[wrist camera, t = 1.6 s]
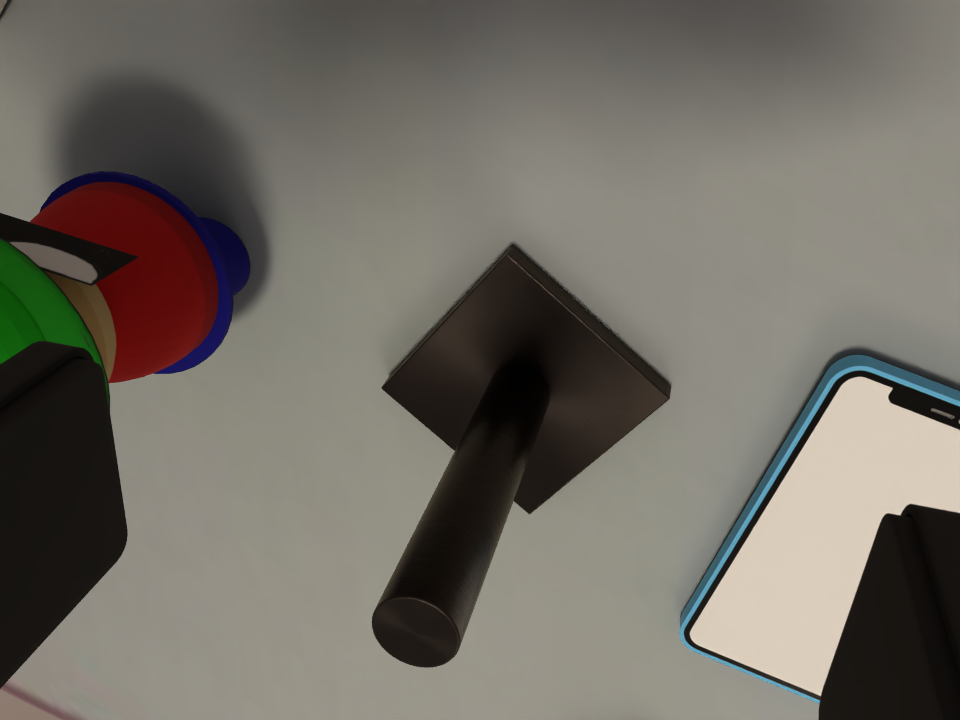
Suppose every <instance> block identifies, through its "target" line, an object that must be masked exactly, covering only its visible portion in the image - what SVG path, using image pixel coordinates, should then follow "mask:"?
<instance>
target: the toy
mask: <svg viewBox="0 0 960 720" xmlns="http://www.w3.org/2000/svg"><path fill="white" fill-rule="evenodd" d="M249 274H250V261H249V256H248V253H247V250H246V248H245V246H244V245H243V243H242V241H241V240H240V239H239V237H238V236H237V235H236V234H235V233H234V232H233V231H232V230H231V229H230V228H228V227H227V226H225V225H224V224H222V223H220V222H218V221H215V220H213V219H210V218H201V217H197V216H196V215H195V213H194V212H193V211H192V210H190V209H189V208H188V207H187V206H186V205H185V204H184V203H183V202H182V201H181V200H179V199H178V198H176V197H175V196H174V195H172V194H171V193H169V192H168V191H167V190H165V189H163V188H161V187H160V186H158V185H156V184H154V183H152V182H150V181H148V180H145V179H142V178H139V177H137V176H134V175H130V174H125V173H120V172H104V171H100V172H94V173H88V174H84V175H82V176H79V177H76V178H73V179H72V180H70V181H68V182H66V183H64V184H62V185H61V186H59V187H58V188H57V189H56V190H55V191H54V192H52V193H51V195H50V196H49V197H48V199H47V200H46V201H45V203H44V204H43V206H42V207H41V210H40V212H39V214H38V215H36V216H35V217H34V218H33V219H32V220H31V221H30V222H27V221H24V220H21V219H18V218H14V217H11V216H8V215H5V214H2V213H0V364H1V363H3V362H5V361H6V360H8V359H9V358H11V357H12V356H14V355H15V354H17V353H18V352H20V351H21V350H23V349H25V348H26V347H28V346H29V345H31V344H33V343H35V342H37V341H49V342H54V343H59V344H65V345H70V346H75V347H80V348H84V349H86V350H87V351H89V352H90V354H91V355H92V357H93V359H94V362H96V363H98V364H99V365H100V366H101V367H102V369H103V373H104V377H105V384H106V391H107V397H108V404H109V411H110V393H109V385H108V383H115V382H123V381H127V380H132V379H136V378H140V377H144V376H147V375H150V374H152V373H153V374H170V373H176V372H182V371H185V370H187V369H190V368H193V367H195V366H196V365H198V364H200V363H201V362H203V361H204V360H206V359H207V358H208V357H209V356H210V355H212V354H213V353H214V351H215V350H216V349H217V348H218V347H219V346H220V345H221V343H222V341H223V340H224V338H225V336H226V334H227V332H228V329H229V326H230V323H231V320H232V312H233V296H234V295H235V294H236V293H237V292H239V291H240V290H241V289H242V288H243V287H244V286H245V284H246V282H247V281H248V278H249Z"/></svg>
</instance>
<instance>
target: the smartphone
mask: <svg viewBox="0 0 960 720" xmlns="http://www.w3.org/2000/svg"><path fill="white" fill-rule="evenodd" d="M909 504H915V505H920V506H926V507H931V508H936V509H942V510H947V511H952V512H958V513H960V391H958V390H955V389H953V388H950V387H947V386H945V385H942V384H940V383H937V382H934V381H932V380H929V379H927V378H924V377H921V376H919V375H916V374H914V373H911V372H908V371H906V370H903V369H900V368H898V367H895V366H893V365H890V364H887V363H885V362H882V361H880V360H877V359H874V358H872V357H869V356H866V355H851V356H847V357H844V358H842V359H840V360H838V361H837V362H835V363H834V364H833V365H831V367H830V368H829V369H828V370H827V372H826V373H825V375H824V377H823V378H822V380H821V382H820V383H819V385H818V387H817V388H816V390H815V392H814V394H813V395H812V397H811V399H810V400H809V402H808V404H807V405H806V407H805V409H804V410H803V412H802V414H801V415H800V417H799V419H798V420H797V422H796V424H795V425H794V427H793V429H792V430H791V432H790V434H789V435H788V437H787V439H786V440H785V442H784V444H783V445H782V447H781V449H780V450H779V452H778V454H777V455H776V457H775V459H774V460H773V462H772V464H771V465H770V467H769V469H768V470H767V472H766V474H765V475H764V477H763V479H762V480H761V482H760V484H759V485H758V487H757V489H756V490H755V492H754V494H753V495H752V497H751V499H750V500H749V502H748V504H747V505H746V507H745V509H744V510H743V512H742V514H741V515H740V517H739V519H738V521H737V522H736V524H735V526H734V527H733V529H732V531H731V532H730V534H729V536H728V537H727V539H726V541H725V542H724V544H723V546H722V547H721V549H720V551H719V552H718V554H717V556H716V557H715V559H714V561H713V562H712V564H711V566H710V567H709V569H708V571H707V572H706V574H705V576H704V577H703V579H702V581H701V582H700V584H699V586H698V587H697V589H696V591H695V592H694V594H693V596H692V597H691V599H690V601H689V602H688V604H687V606H686V607H685V609H684V611H683V613H682V615H681V622H680V638H681V640H682V642H683V643H684V645H685V646H686V647H688V648H689V649H690V650H692V651H694V652H696V653H698V654H701V655H703V656H706V657H708V658H711V659H713V660H715V661H718V662H720V663H723V664H725V665H727V666H730V667H732V668H735V669H737V670H740V671H742V672H744V673H747V674H749V675H752V676H754V677H756V678H759V679H761V680H764V681H766V682H768V683H771V684H773V685H776V686H778V687H781V688H783V689H785V690H788V691H790V692H793V693H795V694H797V695H800V696H802V697H805V698H807V699H809V700H812V701H814V702H817V703H820V698H821V693H822V690H823V686H824V683H825V680H826V678H827V675H828V672H829V669H830V666H831V663H832V660H833V657H834V654H835V652H836V649H837V646H838V643H839V640H840V637H841V634H842V631H843V628H844V626H845V623H846V620H847V617H848V614H849V611H850V608H851V605H852V602H853V600H854V597H855V594H856V591H857V588H858V585H859V582H860V579H861V576H862V574H863V571H864V568H865V565H866V562H867V559H868V556H869V553H870V550H871V548H872V545H873V542H874V539H875V536H876V533H877V530H878V527H879V524H880V522H881V520H882V518H883V516H884V515H885V514H887V513H890V514H895V515H901V513H902V511H903V510H904V508H905V507H906V506H907V505H909Z"/></svg>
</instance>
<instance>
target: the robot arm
mask: <svg viewBox="0 0 960 720" xmlns="http://www.w3.org/2000/svg"><path fill="white" fill-rule="evenodd" d="M6 2H7V0H0V14H1V12H2V10H3V8H4V6H5V4H6ZM126 542H127V524H126V518H125V511H124V504H123V497H122V491H121V484H120V477H119V471H118V464H117V457H116V451H115V444H114V437H113V431H112V424H111V417H110V411H109V404H108V397H107V391H106V384H105V377H104V373H103V369H102V367H101V366H100V365H99V364H98V363H96V362H94V359H93V357H92V355H91V354H90V352H89V351H87V350H86V349H84V348H80V347H75V346H70V345H65V344H59V343H54V342H49V341H37V342H35V343H33V344H31V345H29V346H28V347H26V348H25V349H23V350H21V351H20V352H18V353H17V354H15V355H14V356H12V357H11V358H9V359H8V360H6V361H5V362H3V363H1V364H0V688H1V687H2V686H3V685H4V684H5V683H6V682H7V681H8V680H9V679H10V677H11V676H12V675H13V674H14V673H15V672H16V671H17V670H18V669H19V668H20V667H21V665H22V664H23V663H24V662H25V661H26V660H27V659H28V658H29V657H30V656H31V655H32V653H33V652H34V651H35V650H36V649H37V648H38V647H39V646H40V645H41V644H42V643H43V641H44V640H45V639H46V638H47V637H48V636H49V635H50V634H51V633H52V632H53V631H54V629H55V628H56V627H57V626H58V625H59V624H60V623H61V622H62V621H63V620H64V619H65V617H66V616H67V615H68V614H69V613H70V612H71V611H72V610H73V609H74V608H75V607H76V605H77V604H78V603H79V602H80V601H81V600H82V599H83V598H84V597H85V596H86V594H87V593H88V592H89V591H90V590H91V589H92V588H93V587H94V586H95V585H96V584H97V582H98V581H99V580H100V579H101V578H102V577H103V576H104V575H105V574H106V573H107V572H108V570H109V569H110V568H111V567H112V566H113V565H114V564H115V563H116V562H117V560H118V559H119V558H120V556H121V555H122V553H123V551H124V548H125V545H126ZM819 720H960V513H958V512H952V511H947V510H942V509H936V508H931V507H926V506H920V505H915V504H909V505H907V506H906V507H905V508H904V510H903V511H902V513H901V515H895V514H890V513H887V514H885V515H884V516H883V518H882V520H881V522H880V524H879V527H878V530H877V533H876V536H875V539H874V542H873V545H872V548H871V550H870V553H869V556H868V559H867V562H866V565H865V568H864V571H863V574H862V576H861V579H860V582H859V585H858V588H857V591H856V594H855V597H854V600H853V602H852V605H851V608H850V611H849V614H848V617H847V620H846V623H845V626H844V628H843V631H842V634H841V637H840V640H839V643H838V646H837V649H836V652H835V654H834V657H833V660H832V663H831V666H830V669H829V672H828V675H827V678H826V680H825V683H824V686H823V690H822V693H821V698H820V706H819Z"/></svg>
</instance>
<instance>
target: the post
mask: <svg viewBox="0 0 960 720" xmlns="http://www.w3.org/2000/svg"><path fill="white" fill-rule="evenodd" d="M382 389H383V390H384V391H385V392H386V393H387V394H388V395H390V396H391V397H392V398H393V399H394V400H396V401H397V402H398V403H399V404H400V405H401V406H403V407H404V408H405V409H406V410H407V411H408V412H410V413H411V414H412V415H413V416H414V417H416V418H417V419H418V420H419V421H420V422H421V423H423V424H424V425H425V426H426V427H427V428H428V429H430V430H431V431H432V432H433V433H434V434H436V435H437V436H438V437H439V438H440V439H441V440H443V441H444V442H445V443H446V444H447V445H448V446H450V447H451V448H452V449H453V450H454V451H455V452H454V454H453V456H452V458H451V460H450V462H449V464H448V466H447V468H446V470H445V472H444V474H443V476H442V478H441V480H440V482H439V484H438V486H437V488H436V490H435V492H434V494H433V496H432V498H431V500H430V502H429V504H428V506H427V508H426V509H425V511H424V513H423V515H422V517H421V519H420V521H419V523H418V525H417V527H416V529H415V531H414V533H413V535H412V537H411V539H410V541H409V543H408V545H407V547H406V549H405V551H404V553H403V555H402V557H401V559H400V561H399V563H398V565H397V567H396V569H395V571H394V573H393V575H392V577H391V579H390V581H389V583H388V585H387V587H386V589H385V591H384V593H383V595H382V597H381V599H380V601H379V603H378V605H377V607H376V609H375V611H374V613H373V616H372V628H373V632H374V635H375V637H376V639H377V641H378V642H379V644H380V645H381V646H382V647H383V648H384V649H385V650H386V651H387V652H388V653H389V654H390V655H392V656H393V657H395V658H396V659H398V660H400V661H402V662H404V663H407V664H409V665H413V666H417V667H437V666H440V665H443V664H445V663H447V662H448V661H450V660H451V659H452V658H453V657H454V656H455V655H456V654H457V652H458V650H459V647H460V645H461V642H462V639H463V636H464V634H465V631H466V628H467V626H468V623H469V620H470V617H471V615H472V612H473V609H474V607H475V604H476V601H477V598H478V596H479V593H480V590H481V587H482V585H483V582H484V579H485V577H486V574H487V571H488V568H489V566H490V563H491V560H492V558H493V555H494V552H495V549H496V547H497V544H498V541H499V539H500V536H501V533H502V530H503V528H504V525H505V522H506V519H507V517H508V514H509V511H510V509H511V506H512V503H513V501H514V502H516V503H517V504H518V505H519V506H520V507H521V508H523V509H524V510H525V511H526V512H527V513H529V514H531V513H532V512H533V511H534V510H536V509H537V508H538V507H539V506H540V505H542V504H543V503H544V502H545V501H547V500H548V499H549V498H550V497H551V496H553V495H554V494H555V493H556V492H557V491H559V490H560V489H561V488H562V487H563V486H565V485H566V484H567V483H568V482H570V481H571V480H572V479H573V478H574V477H576V476H577V475H578V474H579V473H580V472H582V471H583V470H584V469H585V468H586V467H588V466H589V465H590V464H591V463H593V462H594V461H595V460H596V459H597V458H599V457H600V456H601V455H602V454H603V453H605V452H606V451H607V450H608V449H610V448H611V447H612V446H613V445H614V444H616V443H617V442H618V441H619V440H620V439H622V438H623V437H624V436H625V435H626V434H628V433H629V432H630V431H631V430H633V429H634V428H635V427H636V426H637V425H639V424H640V423H641V422H642V421H643V420H645V419H646V418H647V417H648V416H649V415H651V414H652V413H653V412H654V411H656V410H657V409H658V408H659V407H660V406H662V405H663V404H664V403H665V402H666V401H668V400H669V399H670V392H671V386H670V385H669V384H668V383H667V382H666V381H665V380H663V379H662V378H661V377H660V376H659V375H658V374H657V373H656V372H655V371H653V370H652V369H651V368H650V367H649V366H648V365H647V364H646V363H644V362H643V361H642V360H641V359H640V358H639V357H638V356H637V355H636V354H634V353H633V352H632V351H631V350H630V349H629V348H628V347H627V346H626V345H624V344H623V343H622V342H621V341H620V340H619V339H618V338H617V337H615V336H614V335H613V334H612V333H611V332H610V331H609V330H608V329H607V328H605V327H604V326H603V325H602V324H601V323H600V322H599V321H598V320H597V319H595V318H594V317H593V316H592V315H591V314H590V313H589V312H588V311H586V310H585V309H584V308H583V307H582V306H581V305H580V304H579V303H578V302H576V301H575V300H574V299H573V298H572V297H571V296H570V295H569V294H567V293H566V292H565V291H564V290H563V289H562V288H561V287H560V286H559V285H557V284H556V283H555V282H554V281H553V280H552V279H551V278H550V277H549V276H547V275H546V274H545V273H544V272H543V271H542V270H541V269H540V268H538V267H537V266H536V265H535V264H534V263H533V262H532V261H531V260H530V259H528V258H527V257H526V256H525V255H524V254H523V253H522V252H521V251H520V250H518V249H517V248H516V247H515V246H514V245H512V246H511V247H510V248H509V249H508V250H507V251H506V253H505V254H504V255H503V256H502V257H501V258H500V259H499V260H498V261H497V262H496V263H495V264H494V265H493V266H492V267H491V269H490V270H489V271H488V272H487V273H486V274H485V275H484V276H483V277H482V278H481V279H480V280H479V281H478V282H477V283H476V285H475V286H474V287H473V288H472V289H471V290H470V291H469V292H468V293H467V294H466V295H465V296H464V297H463V298H462V300H461V301H460V302H459V303H458V304H457V305H456V306H455V307H454V308H453V309H452V310H451V311H450V312H449V313H448V314H447V316H446V317H445V318H444V319H443V320H442V321H441V322H440V323H439V324H438V325H437V326H436V327H435V328H434V329H433V330H432V332H431V333H430V334H429V335H428V336H427V337H426V338H425V339H424V340H423V341H422V342H421V343H420V344H419V345H418V347H417V348H416V349H415V350H414V351H413V352H412V353H411V354H410V355H409V356H408V357H407V358H406V359H405V360H404V361H403V363H402V364H401V365H400V366H399V367H398V368H397V369H396V370H395V371H394V372H393V373H392V374H391V375H390V376H389V378H388V379H387V381H386V382H385V383H384V385H383V386H382Z"/></svg>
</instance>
